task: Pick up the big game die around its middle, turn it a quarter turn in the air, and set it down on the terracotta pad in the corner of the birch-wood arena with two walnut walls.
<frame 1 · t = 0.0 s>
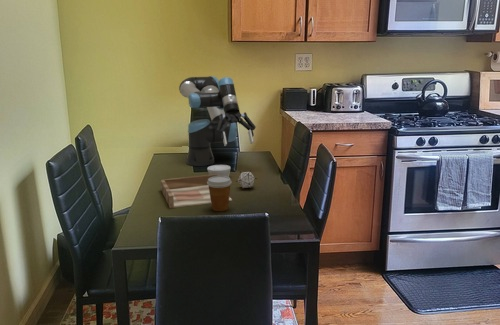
hand: (239, 143, 223), 15 cm above the table, tool tilted 35°, fingers open, 13 cm apart
ramekin: (219, 178, 220), on the table
arena: (196, 194, 195), on the table
disposable coffee cup: (220, 208, 178), on the table
game die: (246, 188, 203), on the table
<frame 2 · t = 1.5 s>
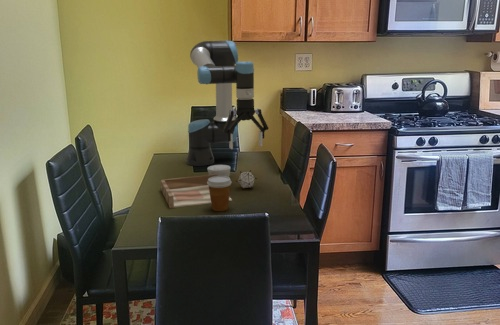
hand: (246, 147, 198), 19 cm above the table, tool pointing down, fingers open, 13 cm apart
nothing on the table moved.
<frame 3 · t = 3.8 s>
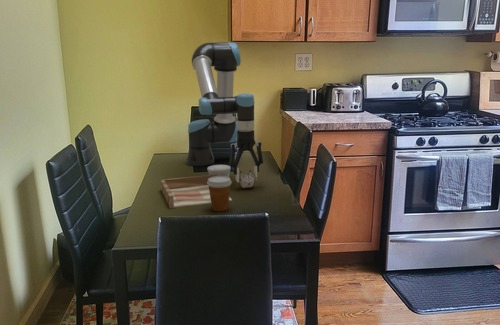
hand: (246, 180, 202), 4 cm above the table, tool pointing down, fingers closed on game die, 8 cm apart
game die: (246, 188, 203), on the table, touching gripper
everything else where it was.
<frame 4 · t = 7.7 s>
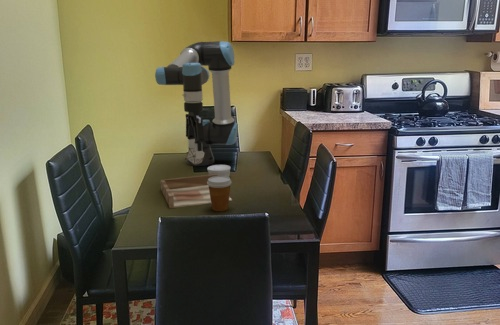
hand: (195, 156, 189), 17 cm above the table, tool pointing down, fingers closed on game die, 8 cm apart
game die: (196, 165, 190), point 13 cm above the table, touching gripper
everything else where it was.
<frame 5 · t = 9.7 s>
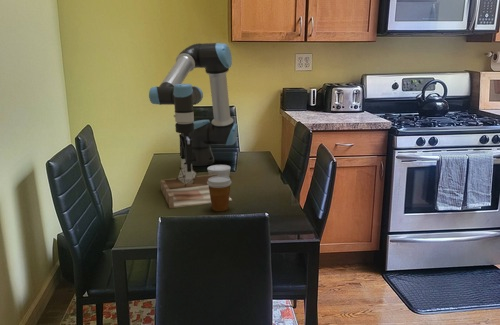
hand: (187, 176, 190), 9 cm above the table, tool pointing down, fingers closed on game die, 8 cm apart
game die: (187, 185, 191), point 5 cm above the table, touching gripper
everything else where it was.
when the fingers open (5 cm above the table, at t = 11.6 s): game die stays where it is, resting on arena.
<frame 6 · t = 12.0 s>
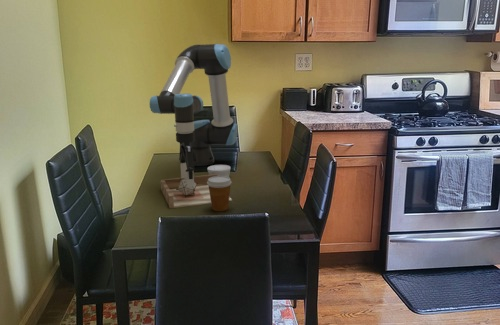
hand: (187, 181, 191), 7 cm above the table, tool pointing down, fingers open, 13 cm apart
game die: (187, 195, 192), resting on arena
everything else where it was.
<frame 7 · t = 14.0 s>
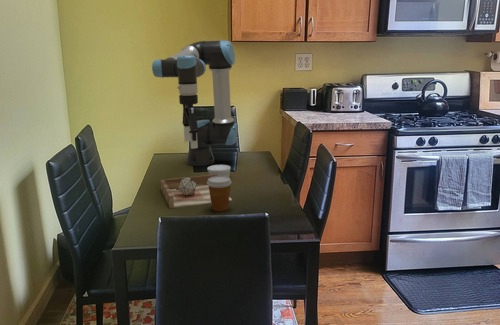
hand: (190, 144, 191), 22 cm above the table, tool pointing down, fingers open, 13 cm apart
nothing on the table moved.
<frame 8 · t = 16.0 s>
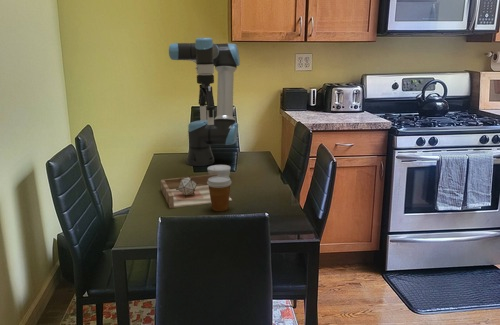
hand: (206, 122, 203), 29 cm above the table, tool pointing down, fingers open, 13 cm apart
nothing on the table moved.
at the end: game die inside the target area on the arena (0.1 cm from its centre), point 0.5 cm above the arena's base; game die touching arena; the gripper is holding nothing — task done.
